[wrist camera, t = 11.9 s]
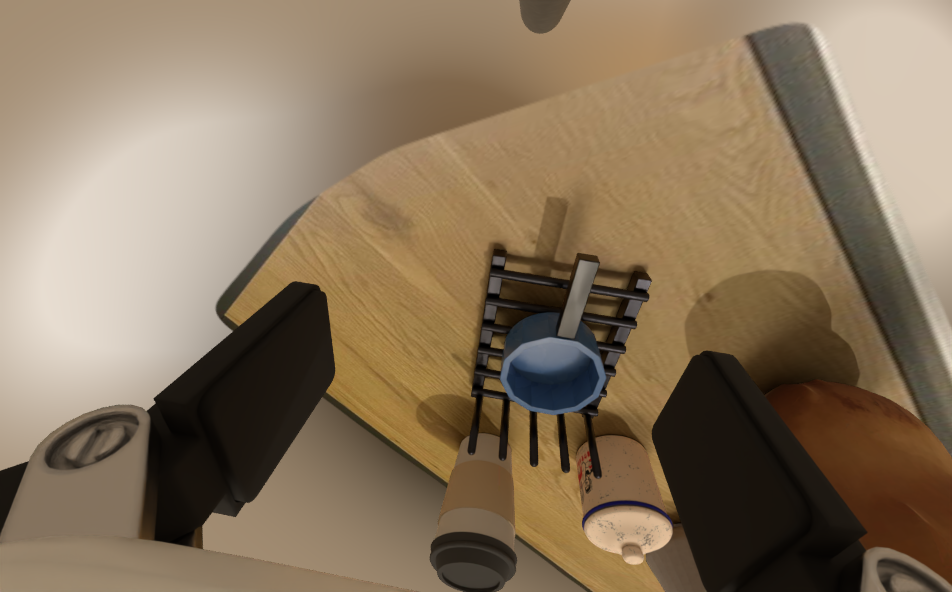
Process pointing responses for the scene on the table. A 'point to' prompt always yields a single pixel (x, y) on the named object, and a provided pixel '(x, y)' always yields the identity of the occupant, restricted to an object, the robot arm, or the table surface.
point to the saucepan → (556, 352)
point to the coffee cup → (477, 521)
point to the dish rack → (620, 323)
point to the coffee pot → (675, 564)
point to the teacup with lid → (622, 499)
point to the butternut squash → (877, 466)
